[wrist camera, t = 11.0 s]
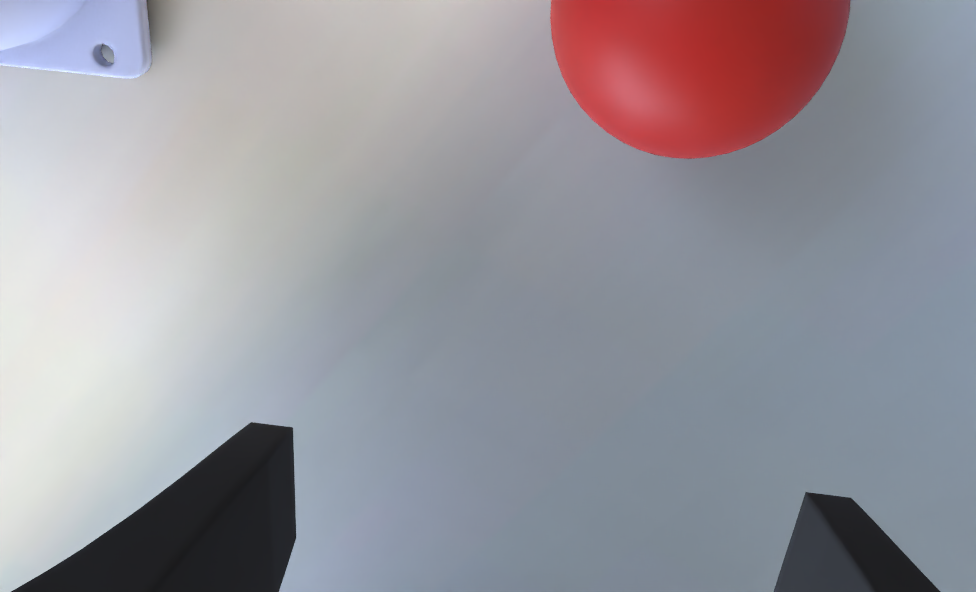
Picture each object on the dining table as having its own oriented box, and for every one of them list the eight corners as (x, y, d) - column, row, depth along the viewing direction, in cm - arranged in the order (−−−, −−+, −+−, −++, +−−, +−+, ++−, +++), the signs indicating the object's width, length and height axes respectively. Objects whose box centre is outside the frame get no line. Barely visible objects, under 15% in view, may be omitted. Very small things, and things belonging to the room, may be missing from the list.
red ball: (541, 103, 20) (529, 180, 15) (570, -156, 17) (567, -173, 12) (773, 128, 19) (840, 214, 14) (836, -133, 17) (943, -138, 12)
